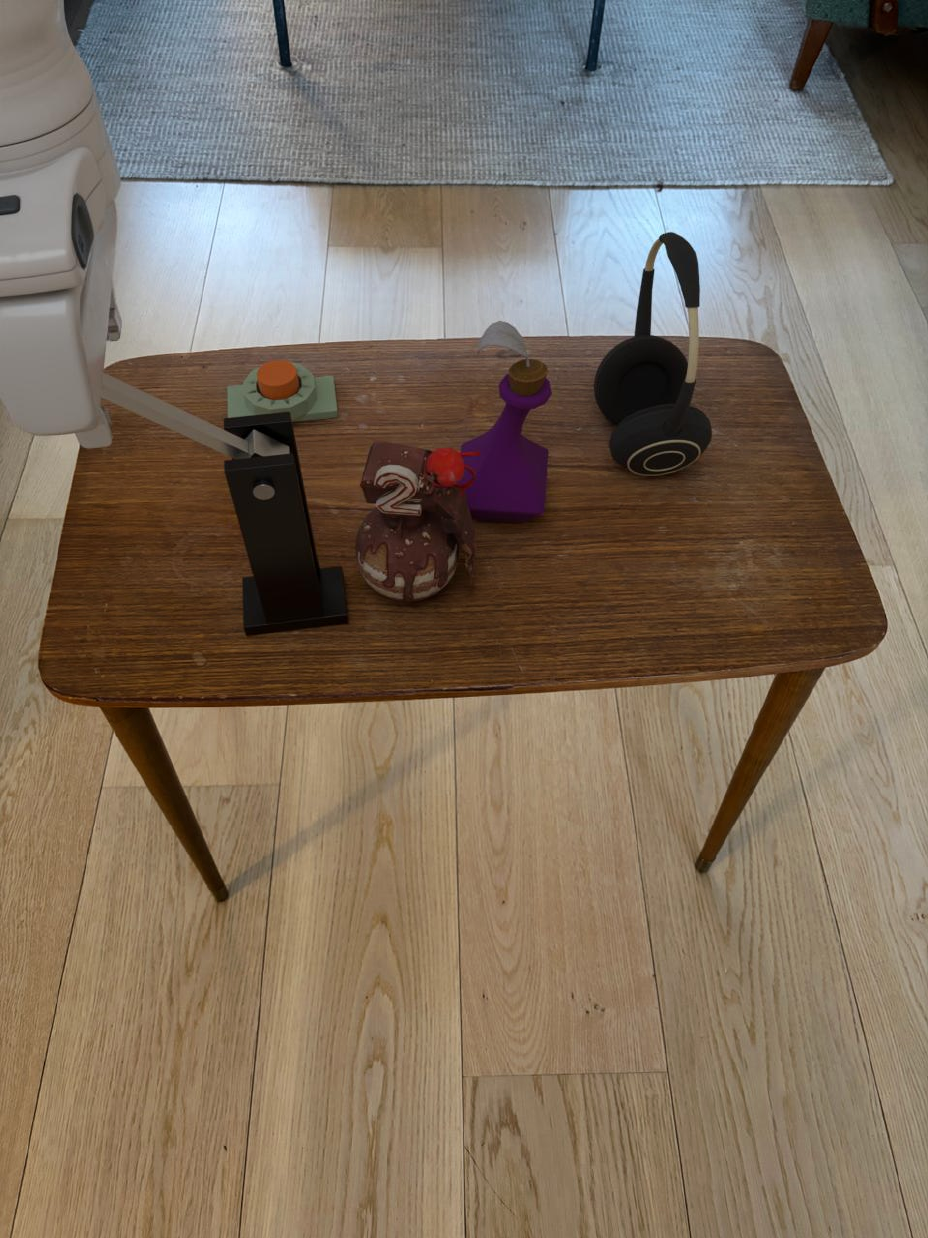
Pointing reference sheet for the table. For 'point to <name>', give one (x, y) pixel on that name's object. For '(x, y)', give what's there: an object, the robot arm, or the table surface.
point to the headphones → (655, 380)
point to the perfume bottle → (509, 442)
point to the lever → (189, 423)
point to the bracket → (280, 537)
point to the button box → (305, 405)
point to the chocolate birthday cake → (414, 520)
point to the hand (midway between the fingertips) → (104, 384)
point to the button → (278, 380)
